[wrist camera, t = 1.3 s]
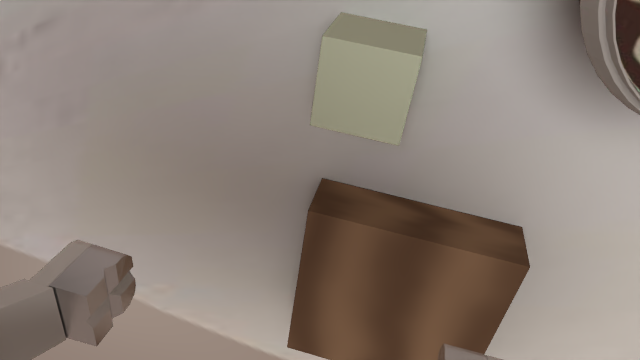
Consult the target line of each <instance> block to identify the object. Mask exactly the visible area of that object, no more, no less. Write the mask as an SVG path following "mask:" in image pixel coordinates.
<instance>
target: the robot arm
mask: <svg viewBox="0 0 640 360" xmlns="http://www.w3.org/2000/svg"><path fill="white" fill-rule="evenodd" d="M132 267H133V262H132V257H131V256H128V255H126V254H123V253H119V252H116V251H113V250H110V249H107V248H103V247H100V246H97V245H93V244H90V243H86V242H83V241H80V240H76V241H73V242H71V243H69V244H68V245H67V246H66V247H65V248H64V249H63V250H62V251H61V252H60V253H59V254H57V255H56V256H55V257H54V258H53V259H52V260H51V261H50V262H49V263H48V264H46V265H45V266H44V267H43V268H42V269H41V270H40V271H39V272H38V273H37V274H36V275H34V276H33V277H32V278H31V279H30V280H25V279H23V280H20V281H17V282H15V283H12V284H9V285H6V286H4V287H1V288H0V360H32V359H33V358H35V357H37V356H39V355H40V354H42V353H44V352H46V351H47V350H49V349H51V348H52V347H54V346H56V345H58V344H59V343H61V342H63V341H65V340H66V338H69V339H73V340H76V341H80V342H83V343H87V344H91V345H94V346H97V345H98V344H99V343H100V342H101V340H102V339H103V338H104V337H105V335H106V334H107V333H108V332H109V330H110V329H111V328H112V327H113V318H114V317H116V316H118V315H120V314H122V313H124V311H125V310H126V309H127V307H128V306H129V305H130V303H131V300H132V298H133V296H134V293H135V286H136V284H135V278H134V277H133V276H132V274H131V273H130V272H129V271H130V269H131V268H132ZM438 360H502V359H498V358H495V357H491V356H488V355H484V354H481V353H478V352H474V351H470V350H467V349H463V348H459V347H455V346H452V345H448V344H444V343H443V345H442V346H441V348H440V350H439V352H438Z"/></svg>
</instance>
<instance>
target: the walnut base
mask: <svg viewBox="0 0 640 360" xmlns="http://www.w3.org/2000/svg"><path fill="white" fill-rule="evenodd" d="M529 268H530V265H529V259H528V254H527V249H526V244H525V239H524V234H523V229H522V227H519V226H515V225H511V224H507V223H502V222H498V221H494V220H490V219H486V218H482V217H478V216H474V215H470V214H466V213H462V212H458V211H454V210H449V209H445V208H441V207H437V206H433V205H429V204H425V203H421V202H417V201H413V200H409V199H405V198H401V197H396V196H392V195H388V194H384V193H380V192H376V191H372V190H368V189H364V188H360V187H356V186H352V185H348V184H343V183H339V182H335V181H331V180H327V179H323V178H322V180H321V182H320V184H319V187H318V189H317V191H316V194H315V196H314V198H313V201H312V203H311V205H310V208H309V210H308V215H307V222H306V228H305V235H304V241H303V248H302V254H301V261H300V267H299V274H298V280H297V287H296V293H295V300H294V306H293V313H292V319H291V326H290V332H289V338H288V345H287V347H288V348H292V349H295V350H298V351H302V352H305V353H309V354H312V355H316V356H319V357H323V358H326V359H330V360H438V352H439V350H440V348H441V346H442V345H443V343H444V344H448V345H452V346H455V347H459V348H463V349H467V350H470V351H474V352H478V353H481V354H484V353H485V351H486V350H487V348H488V346H489V344H490V342H491V340H492V338H493V336H494V334H495V333H496V331H497V329H498V327H499V325H500V323H501V321H502V319H503V317H504V315H505V314H506V312H507V310H508V308H509V306H510V304H511V302H512V300H513V298H514V296H515V295H516V293H517V291H518V289H519V287H520V285H521V283H522V281H523V279H524V278H525V276H526V274H527V272H528V270H529Z"/></svg>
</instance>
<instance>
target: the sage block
mask: <svg viewBox="0 0 640 360" xmlns="http://www.w3.org/2000/svg"><path fill="white" fill-rule="evenodd" d="M426 33H427V30H426V29H421V28H416V27H411V26H406V25H401V24H396V23H391V22H387V21H382V20H377V19H372V18H367V17H362V16H357V15H352V14H347V13H342V12H341V13H340V15H339V16H338V17H337V18H336V19H335V21H334V22H333V23H332V24H331V26H330V27H329V28H328V29H327V31H326V32H325V33H324V34H323V36H322V42H321V49H320V56H319V63H318V70H317V78H316V85H315V92H314V99H313V106H312V114H311V121H310V125H311V126H315V127H320V128H324V129H328V130H332V131H337V132H341V133H345V134H350V135H354V136H358V137H363V138H367V139H371V140H375V141H380V142H384V143H388V144H393V145H397V146H399V144H400V140H401V137H402V133H403V129H404V125H405V122H406V118H407V114H408V110H409V106H410V103H411V99H412V95H413V91H414V87H415V84H416V80H417V76H418V72H419V68H420V65H421V61H422V57H423V51H424V45H425V39H426Z"/></svg>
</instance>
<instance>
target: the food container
mask: <svg viewBox="0 0 640 360" xmlns="http://www.w3.org/2000/svg"><path fill="white" fill-rule="evenodd" d="M579 1H580V14H581V30H582V35H583V39H584V42H585V46H586V50H587V54H588V56H589V58H590V61H591V63H592V65H593V67H594V69H595V71H596V73H597V75H598V76H599V78H600V79H601V80H602V82H603V83H604V84H605V85H606V87H607V88H608V89H609V91H610V92H611V93H612V94H613V95H614V96H615V97H616V98H618V99H619V100H620V101H621V102H622V103H623V104H624V105H626V106H627V107H628V108H630V109H631V110H633V111H635V112H636V113H638V114H640V0H579Z"/></svg>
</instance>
